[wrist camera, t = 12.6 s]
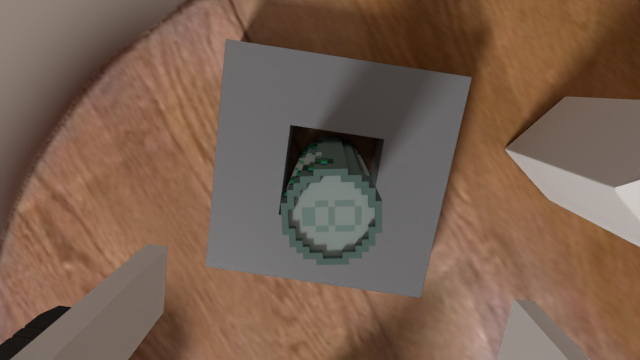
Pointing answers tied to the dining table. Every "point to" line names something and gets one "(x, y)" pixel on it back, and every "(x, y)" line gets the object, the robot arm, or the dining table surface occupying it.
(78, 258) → the dining table surface
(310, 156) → the can
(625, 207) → the milk carton
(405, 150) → the socket block
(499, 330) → the dining table surface
